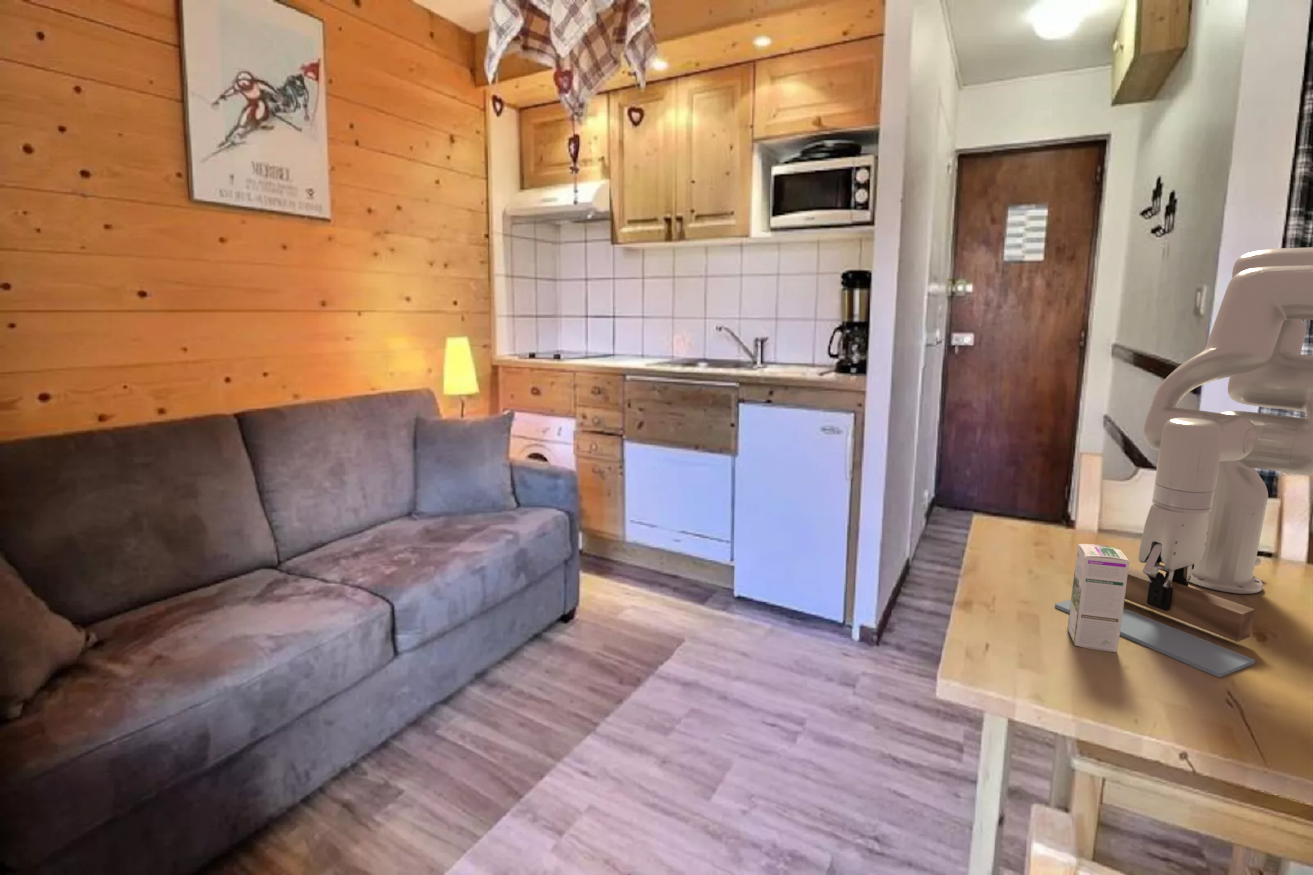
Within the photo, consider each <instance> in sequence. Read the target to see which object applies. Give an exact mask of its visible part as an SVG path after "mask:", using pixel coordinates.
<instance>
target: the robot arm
mask: <svg viewBox="0 0 1313 875" xmlns="http://www.w3.org/2000/svg"><path fill="white" fill-rule="evenodd" d="M1308 320H1309V321H1313V246H1312V247H1311V246H1309V247H1283V248H1282V247H1281V248H1269V249H1260V250H1259V249H1258V250H1255V251H1251V252H1250V251H1249V252H1247V253H1245V254H1242V255H1240V257H1238V258H1237V259H1236V260H1235V262H1234V264H1233V268H1232V274H1231V279H1230V280H1229V282H1228V285H1227V287H1226V290H1225V293H1224V295H1223V298H1222V301H1221V303H1220V306H1219V310H1218V312H1217V315H1216V318H1215V320H1214V323H1213V326H1212V329H1211V331H1210V334H1209V336H1208V340H1207V342H1206V343H1207V344H1206V345H1205V347H1204V349H1203V350H1202V351H1201V352H1200V353H1198V354H1196V355H1195V356H1193V357H1191V358H1190V359H1188V360H1186V361H1185V362H1182V364H1180V365H1179V366H1178V367H1176V368H1175V369H1174V370H1173V371H1172V372H1171V373H1170V374H1169V375H1168V376H1166V378H1165V379H1164V380H1162V382H1161V383H1160V385H1159V386H1158V388H1157V390H1156V391H1155V394H1154V395H1153V399H1152V402H1151V405H1150V407H1149V410H1148V412H1147V415H1146V418H1145V423H1144V427H1143V438H1144V441H1145V444H1147V446H1149V448H1151V449H1152V450H1155V451H1158V459H1157V465H1156V466H1157V467H1156V470H1155V477H1154V478H1155V479H1154V486H1153V492H1152V500H1151V502H1152V504H1151V505H1150V507H1149V511H1148V513H1147V516H1146V519H1145V523H1144V527H1143V531H1142V535H1141V541H1140V543H1139V544H1140V545H1139V551H1138V561H1139V562H1140V563H1143V564H1144V566H1143V569H1142V571H1143V573H1144V574H1146V575H1147V576H1148V577H1149V579H1148V581H1149V582H1150V584H1149V591H1148V597H1147V604H1149V605H1151V606H1154V607H1156V608H1159V609H1161V610H1164V611H1168V610H1170V606H1171V600H1172V593H1173V588H1172V587H1170V586H1171V582H1172V581H1173V582H1176V583H1179V584H1182V585H1185V586H1188V587H1189V583H1190V584H1194V585H1196V586H1200V587H1203V588H1206V589H1210V590H1213V591H1219V592H1224V593H1230V594H1231V593H1232V594H1241V595H1242V594H1245V595H1249V594H1257V593H1259V592H1261V591H1262V590H1263V587H1264V586H1263V585H1264V584H1263V582H1262V581H1261V580H1260V578H1258V577H1256V576H1254V572H1255V567H1257V566H1259V565H1260V564H1261V561H1262V560H1261V559H1260V557H1259V556H1257V555H1258V551H1259V547H1260V540H1261V535H1262V530H1263V524H1264V520H1265V515H1266V509H1267V505H1268V500H1269V499H1268V498H1269V492H1268V488H1267V485H1266V484H1265V482H1264V480H1263V479H1262V478H1261V476H1260V474H1259V473H1258V471H1257V469H1259V470H1269V471H1275V472H1281V473H1287V474H1288V473H1289V474H1294V475H1300V476H1313V355H1311V354H1302V349H1303V345H1304V341H1305V338H1306V335H1307V326H1306V323H1305V322H1304V321H1308ZM1226 378H1228V382H1227V383H1228V385H1227V393H1228V395H1229V398H1230V399H1231V400H1232V401H1234V402H1236V403H1239V404H1240V405H1241V404H1242V405H1247V406H1252V407H1253V406H1254V407H1261V408H1270V409H1279V410H1280V409H1282V410H1289V411H1290V410H1291V411H1299V412H1302V413H1305V415H1306V417H1305V418H1304V417H1298V416H1287V415H1278V414H1275V413H1274V414H1273V413H1263V412H1253V411H1244V410H1227V411H1221V412H1215V411H1214V412H1213V411H1206V410H1198V409H1191V408H1181V407H1178V405H1179V403H1180V402H1181V401H1182V399H1183V398H1184V397H1185V396H1186V395H1187V394H1189V393H1190V392H1191V391H1193V390H1195V389H1196V388H1199V387H1200V386H1203V385H1206V384H1208V383H1211V382H1215V381H1219V380H1222V379H1226ZM1161 563H1162V564H1164V565H1162V564H1161ZM1160 571H1162V572H1160ZM1163 572H1165V576H1164V573H1163Z"/></svg>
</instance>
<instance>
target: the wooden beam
mask: <svg viewBox="0 0 1313 875" xmlns="http://www.w3.org/2000/svg"><path fill="white" fill-rule="evenodd" d="M1148 579H1149V577H1148V576H1147V575H1146V574H1144V573H1143V569H1142V570H1141V569H1138V568H1135V567H1132V566H1130V565H1129V569H1128V576H1127V584H1126V592H1125V600H1127V601H1128V602H1129V601H1130V602H1132V603H1134V604H1137V605H1140V606H1142V607H1145V608H1147V609H1150V610H1153V611H1155V612H1158V613H1160V614H1164V615H1166V616H1168V617H1171V618H1174V619H1176V620H1179V621H1182V622H1184V623H1186V624H1189V625H1192V626H1195V627H1197V628H1200V629H1201V630H1205V631H1207V632H1210V633H1212V634H1214V635H1218V636H1219V637H1220V636H1221V637H1223V638H1226V639H1228V640H1229V641H1230V640H1231V641H1233V642H1236V643H1239V642H1241V641H1244V640H1247V639H1249V638H1251V633H1252V629H1253V628H1252V627H1253V622H1254V616H1255V611H1256V608H1253V607H1249V606H1246V605H1243V604H1240V603H1238V602H1235V601H1232V600H1230V599H1227V598H1223V597H1220V596H1217V595H1214V594H1211V593H1209V592H1205V591H1202V590H1200V589H1197V588H1194V587H1191V586H1189V585H1188V586H1185V585H1182V584H1179V583H1176V582H1173V581H1172V582H1171V586H1170V587H1172V588H1173V593H1172V600H1171V606H1170V610H1168V611H1164V610H1161V609H1159V608H1156V607H1154V606H1151V605H1149V604H1147V597H1148V591H1149V584H1150V582H1149V581H1148Z"/></svg>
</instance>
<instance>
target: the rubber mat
mask: <svg viewBox="0 0 1313 875" xmlns="http://www.w3.org/2000/svg"><path fill="white" fill-rule="evenodd" d="M1070 604H1071V599H1069V600H1064V601H1061V602H1058V603H1055V604H1054V608H1056V609H1057V610H1060V611H1063V612H1065V613H1068V614H1069V612H1070ZM1120 636H1121V637H1123V638H1125V639H1128V640H1130V641H1133V642H1135V643H1137V644H1139V645H1141V646H1143V647H1146V648H1149V649H1152V650H1153V651H1155V652H1158V653H1161V654H1163V655H1165V656H1166V657H1167V656H1168V657H1171V658H1172V659H1174V660H1177V661H1179V662H1182V663H1183V664H1186V665H1188V666H1191V667H1193V668H1194V669H1198V670H1200V671H1203V672H1205V673H1206V674H1209V675H1212V676H1214V677H1217V678H1218V679H1219V678H1222V677H1226V676H1227V675H1230V674H1232V673H1235V672H1237V671H1240V670H1242V669H1245V668H1247V667H1251V666H1253V665H1255V663H1256V659H1254V658H1252V657H1249V656H1247V655H1244V654H1242V653H1239V652H1236V651H1235V650H1232V649H1229V648H1226V647H1223V646H1222V645H1218V644H1216V643H1213V642H1212V641H1211V642H1210V641H1209V640H1206V639H1203V638H1201V637H1199V636H1196V635H1193V634H1190V633H1188V632H1185V631H1183V630H1180V629H1178V628H1175V627H1172V626H1170V625H1168V624H1165V623H1163V622H1160V621H1157V620H1154V619H1153V618H1150V617H1147V616H1144V615H1143V614H1140V613H1136V612H1135V611H1131V610H1130V609H1128V608H1125V607H1123V615H1122V622H1121V630H1120Z"/></svg>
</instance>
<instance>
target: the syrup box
mask: <svg viewBox="0 0 1313 875" xmlns="http://www.w3.org/2000/svg"><path fill="white" fill-rule="evenodd" d="M1075 557H1076V558H1075V563H1074V564H1075V565H1074V571H1073V572H1074V574H1073V579H1072V580H1073V581H1072V589H1071V597H1070V600H1071V604H1070V612H1069V613H1068V620H1067V622H1068V623H1067V632H1068V634H1069V636H1070V638H1071V640H1072V643H1073V646H1076V647H1080V648H1083V649H1091V650H1095V651H1096V650H1097V651H1102V652H1103V651H1104V652H1111V653H1118V649H1119V642H1120V636H1121V635H1120V630H1121V622H1122V615H1123V608H1125V607H1124V605H1125V600H1126V599H1125V592H1126V584H1127V576H1128V569H1129V566H1130V560H1129V559H1128V558H1127V556H1126V555H1125V554H1124V553H1123V551H1122V550H1121V548H1120V547H1115V546H1110V545H1104V544H1103V545H1102V544H1093V543H1091V544H1090V543H1078V544H1077V550H1076V556H1075Z"/></svg>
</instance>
